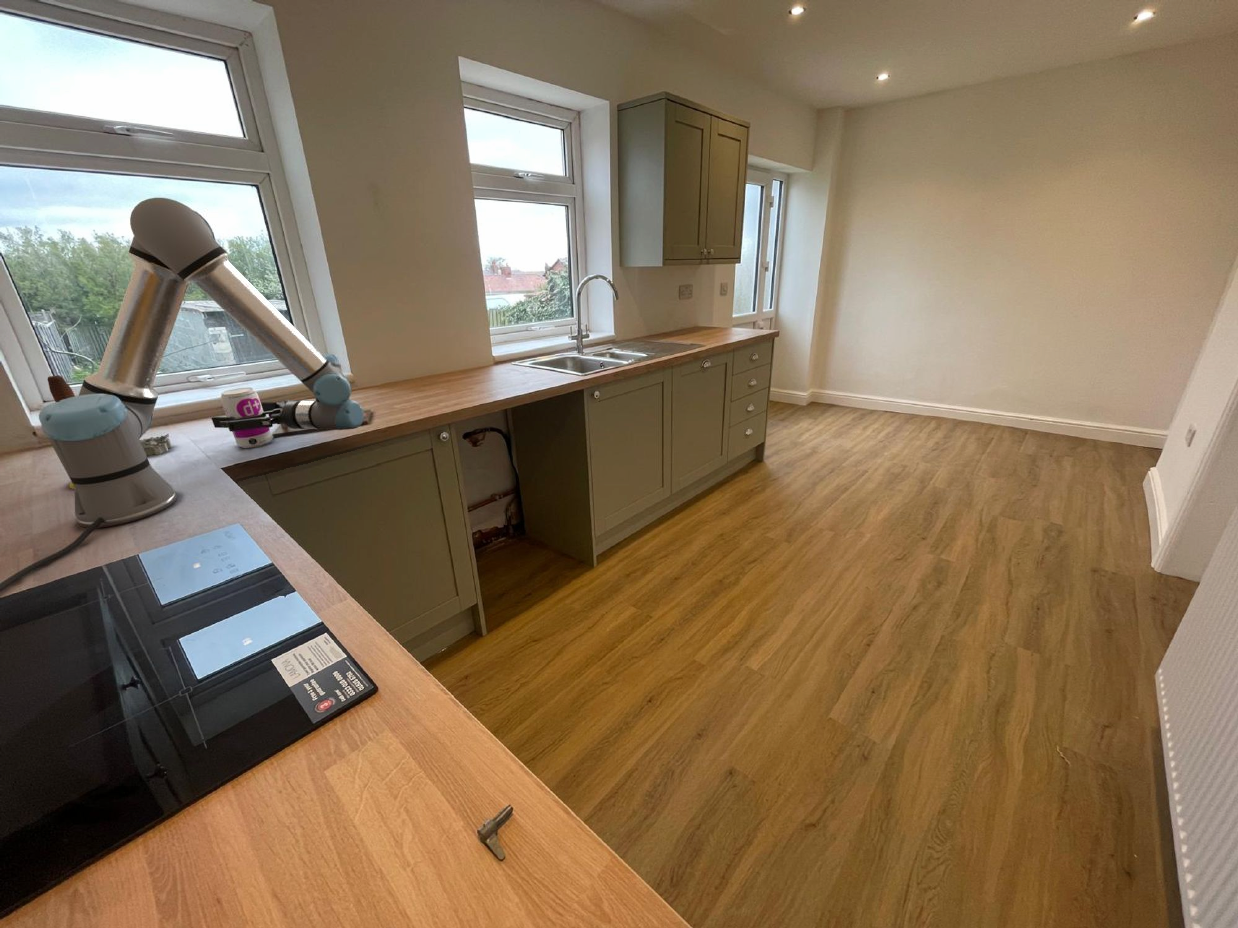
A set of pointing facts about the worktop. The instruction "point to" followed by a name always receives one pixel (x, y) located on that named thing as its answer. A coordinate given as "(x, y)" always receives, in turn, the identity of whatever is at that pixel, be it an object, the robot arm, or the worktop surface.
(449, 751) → the worktop surface
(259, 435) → the supplement can
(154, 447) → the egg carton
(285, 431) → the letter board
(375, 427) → the worktop surface
